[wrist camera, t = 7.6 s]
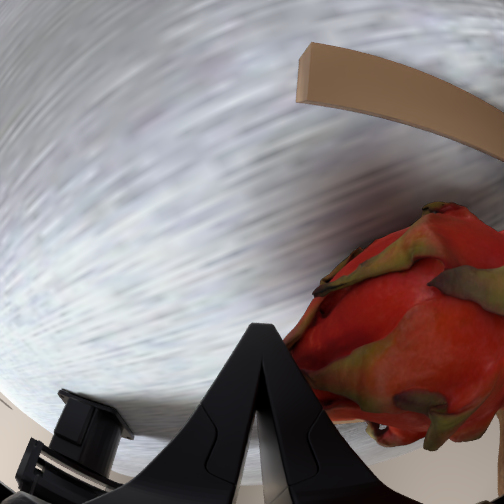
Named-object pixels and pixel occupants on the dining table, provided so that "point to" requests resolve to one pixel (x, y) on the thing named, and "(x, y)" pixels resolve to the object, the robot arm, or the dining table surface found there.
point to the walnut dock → (397, 98)
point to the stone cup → (501, 453)
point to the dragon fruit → (411, 332)
